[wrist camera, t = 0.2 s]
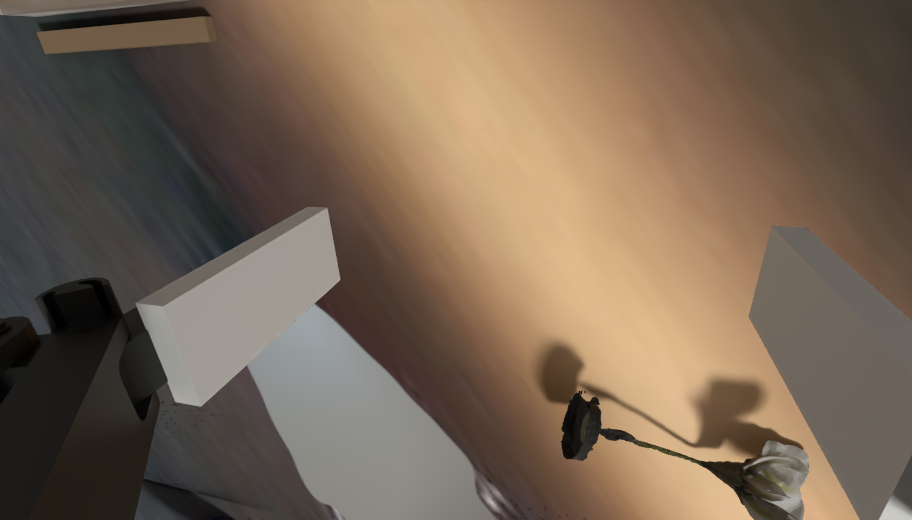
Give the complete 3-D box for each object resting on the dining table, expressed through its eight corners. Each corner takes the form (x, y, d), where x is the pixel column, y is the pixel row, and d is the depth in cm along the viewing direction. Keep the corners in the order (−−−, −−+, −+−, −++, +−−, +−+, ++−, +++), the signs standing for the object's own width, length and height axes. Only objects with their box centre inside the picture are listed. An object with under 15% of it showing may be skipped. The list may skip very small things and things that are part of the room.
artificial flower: (582, 359, 46) (609, 396, 36) (793, 434, 46) (879, 493, 36) (552, 437, 47) (570, 494, 37) (758, 512, 47) (833, 590, 37)
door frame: (-37, -4, 48) (-299, -24, 34) (293, -48, 36) (105, -105, 23) (-10, 58, 50) (-243, 63, 36) (307, 34, 39) (146, 29, 25)
